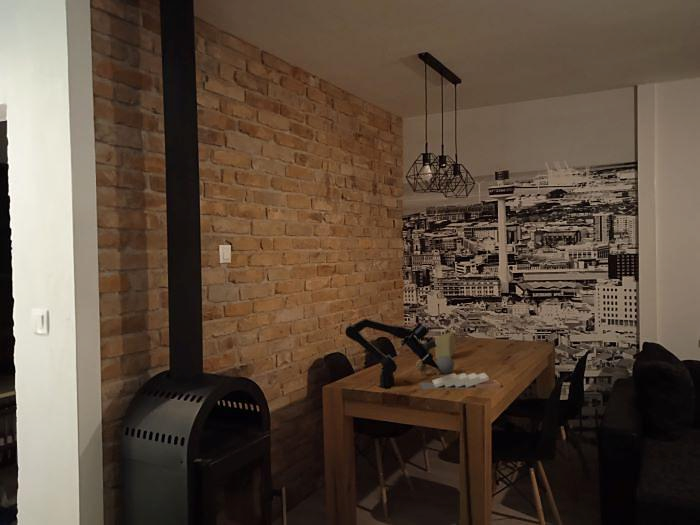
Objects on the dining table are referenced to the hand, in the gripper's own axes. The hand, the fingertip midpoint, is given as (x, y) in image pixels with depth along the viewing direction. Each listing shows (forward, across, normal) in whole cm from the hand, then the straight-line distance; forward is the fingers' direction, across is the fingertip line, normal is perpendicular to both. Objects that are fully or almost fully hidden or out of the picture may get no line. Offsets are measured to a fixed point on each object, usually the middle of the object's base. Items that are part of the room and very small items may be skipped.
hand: (437, 367), depth 285 cm
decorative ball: (+13, +31, +1) cm, 33 cm away
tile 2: (+8, 0, +4) cm, 9 cm away
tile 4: (+15, 0, -3) cm, 15 cm away
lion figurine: (+6, +26, +8) cm, 28 cm away
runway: (+12, 0, +1) cm, 12 cm away
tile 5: (+18, 0, -7) cm, 20 cm away
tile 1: (+4, 0, +7) cm, 8 cm away
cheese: (+19, +80, -5) cm, 83 cm away
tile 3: (+12, 0, 0) cm, 12 cm away
